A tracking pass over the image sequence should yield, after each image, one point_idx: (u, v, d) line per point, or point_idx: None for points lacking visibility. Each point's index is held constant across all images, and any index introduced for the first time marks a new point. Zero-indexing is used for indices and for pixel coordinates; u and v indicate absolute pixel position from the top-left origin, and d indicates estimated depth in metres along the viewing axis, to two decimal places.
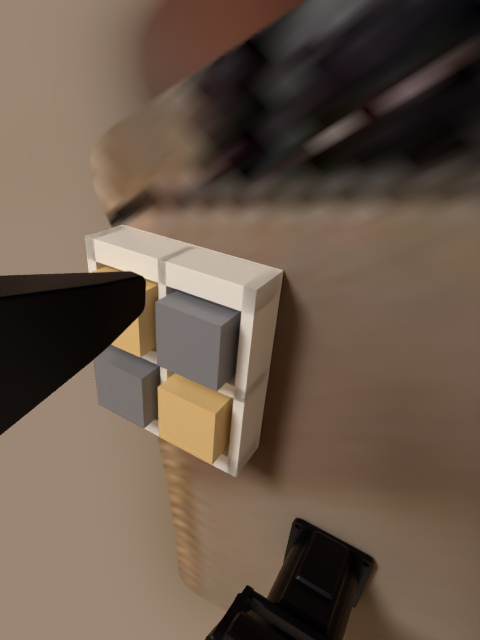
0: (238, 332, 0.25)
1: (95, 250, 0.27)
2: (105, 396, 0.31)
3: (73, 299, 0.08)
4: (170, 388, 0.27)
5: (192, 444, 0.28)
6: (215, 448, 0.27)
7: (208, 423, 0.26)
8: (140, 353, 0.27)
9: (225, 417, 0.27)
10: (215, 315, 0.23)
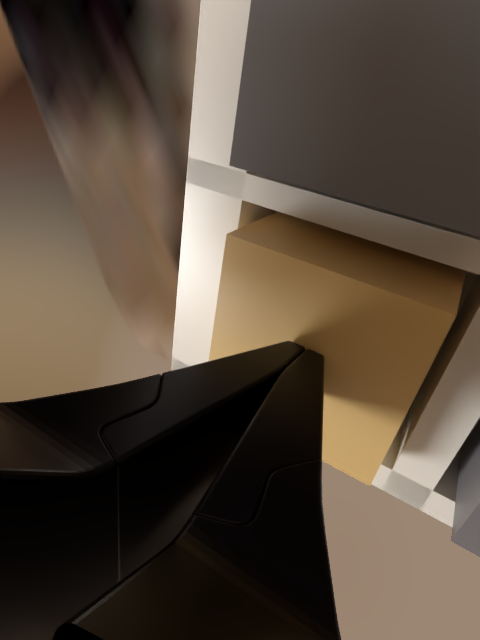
0: None
1: None
2: None
3: (258, 392, 0.07)
4: None
5: None
6: None
7: None
8: (438, 308, 0.07)
9: None
10: None
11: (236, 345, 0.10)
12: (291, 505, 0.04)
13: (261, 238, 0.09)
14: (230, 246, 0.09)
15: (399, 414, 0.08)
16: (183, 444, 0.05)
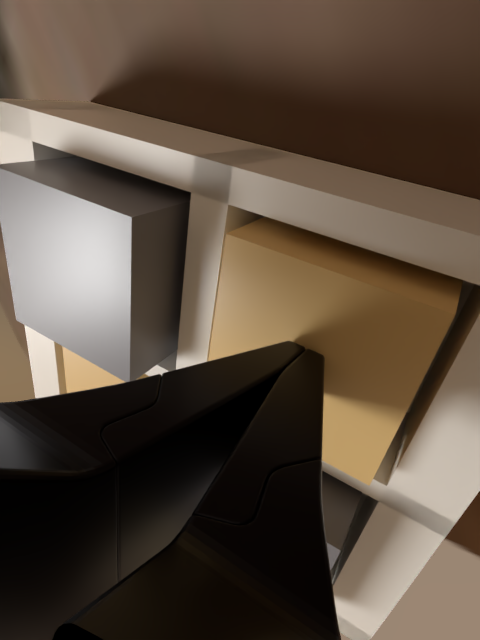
0: (99, 169, 0.11)
1: None
2: None
3: (258, 392, 0.07)
4: None
5: (369, 367, 0.08)
6: (384, 283, 0.08)
7: (265, 268, 0.08)
8: None
9: (309, 238, 0.09)
10: None
11: None
12: (291, 505, 0.04)
13: None
14: None
15: None
16: (183, 444, 0.05)
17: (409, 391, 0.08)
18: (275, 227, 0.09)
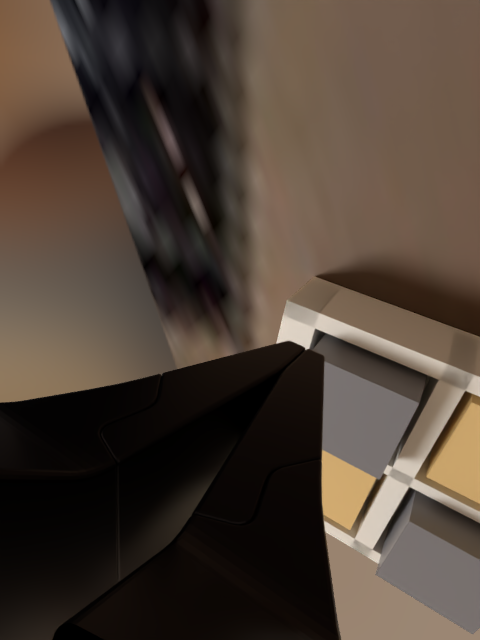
0: (355, 345, 0.18)
1: None
2: (453, 609, 0.19)
3: (258, 393, 0.07)
4: (434, 460, 0.18)
5: None
6: None
7: None
8: None
9: None
10: None
11: None
12: (291, 505, 0.04)
13: None
14: None
15: (360, 504, 0.21)
16: (183, 444, 0.05)
17: None
18: None
